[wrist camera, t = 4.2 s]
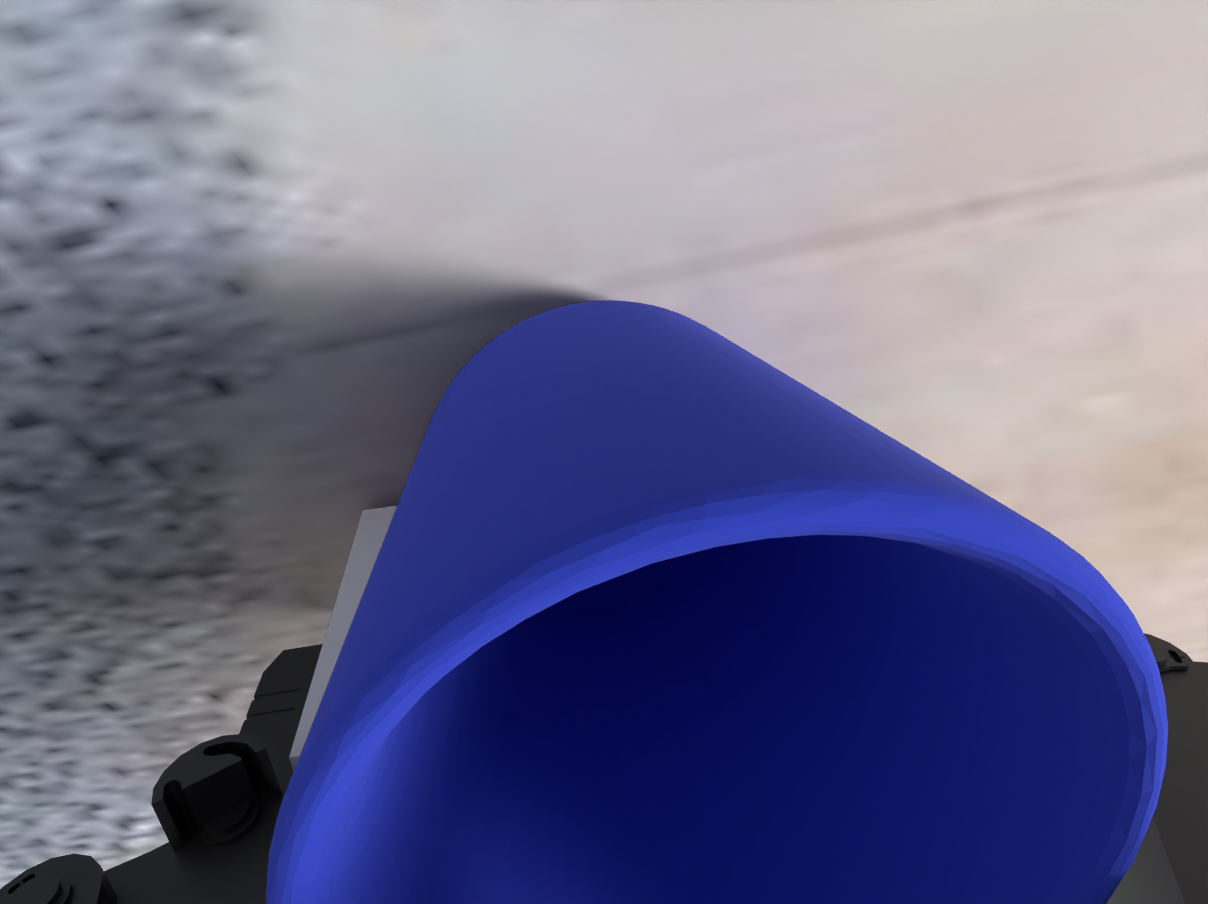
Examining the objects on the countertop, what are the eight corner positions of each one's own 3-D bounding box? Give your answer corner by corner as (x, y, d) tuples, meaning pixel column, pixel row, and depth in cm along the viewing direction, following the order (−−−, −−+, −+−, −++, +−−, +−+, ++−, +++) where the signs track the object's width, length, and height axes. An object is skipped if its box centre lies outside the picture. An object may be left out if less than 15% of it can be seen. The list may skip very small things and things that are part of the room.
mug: (552, 762, 19) (617, 1337, 10) (316, 347, 14) (8, 777, 5) (847, 646, 19) (1177, 1122, 10) (722, 183, 14) (1185, 310, 5)
